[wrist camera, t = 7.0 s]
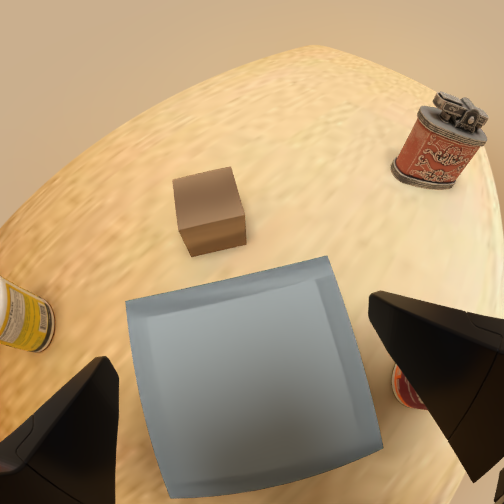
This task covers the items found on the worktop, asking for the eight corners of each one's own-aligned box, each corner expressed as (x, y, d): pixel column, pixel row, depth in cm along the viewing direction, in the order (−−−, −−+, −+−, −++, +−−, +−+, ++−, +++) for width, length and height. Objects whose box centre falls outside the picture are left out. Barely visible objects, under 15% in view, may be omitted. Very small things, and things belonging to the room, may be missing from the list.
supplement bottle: (14, 327, 17) (-54, 298, 9) (38, 287, 18) (-28, 245, 11) (39, 365, 15) (-39, 346, 8) (64, 322, 17) (-12, 286, 9)
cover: (312, 409, 14) (383, 448, 5) (216, 432, 14) (170, 498, 5) (287, 320, 17) (327, 255, 8) (194, 341, 16) (125, 300, 7)
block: (246, 244, 20) (244, 214, 16) (191, 257, 19) (178, 230, 16) (234, 200, 21) (230, 166, 18) (184, 212, 21) (172, 179, 17)
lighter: (445, 168, 24) (486, 103, 15) (456, 192, 22) (505, 128, 13) (386, 158, 24) (423, 77, 15) (396, 185, 22) (443, 102, 13)
